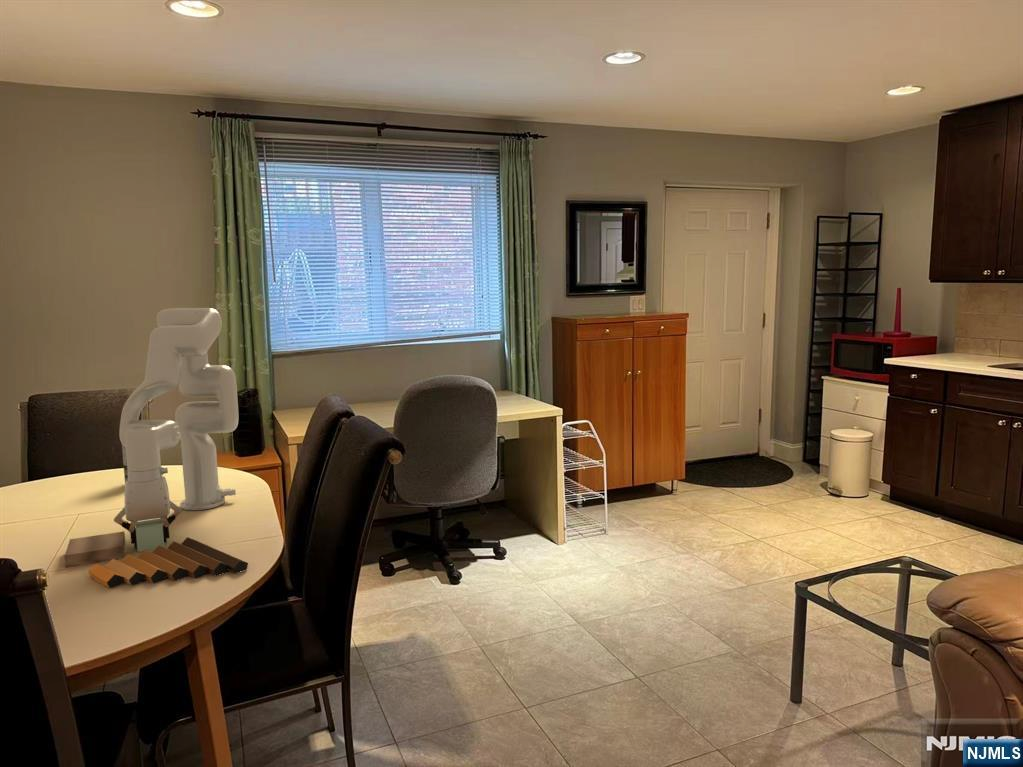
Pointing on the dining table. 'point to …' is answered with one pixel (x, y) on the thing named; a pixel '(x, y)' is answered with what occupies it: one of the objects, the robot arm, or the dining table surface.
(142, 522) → the sage cube
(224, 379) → the robot arm
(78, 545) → the walnut stand
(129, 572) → the pan flute
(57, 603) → the dining table surface
